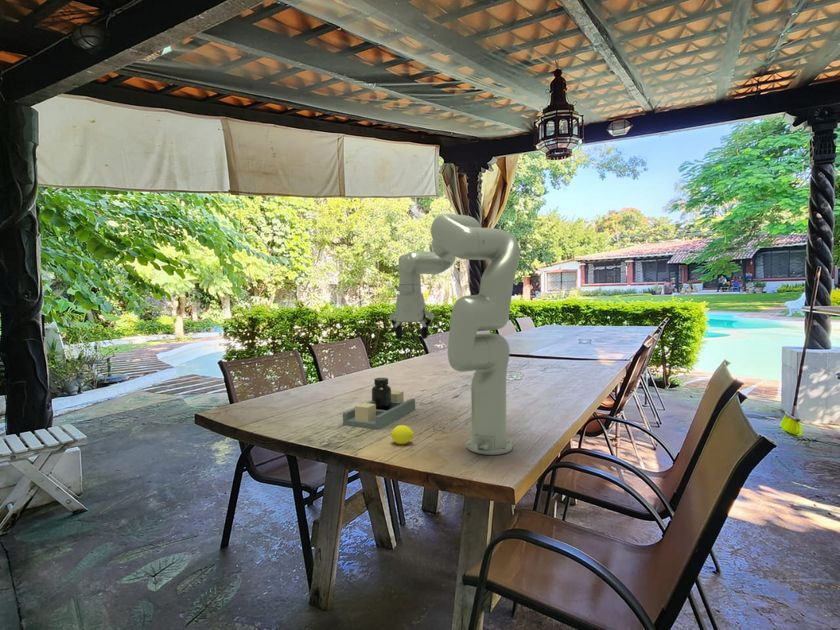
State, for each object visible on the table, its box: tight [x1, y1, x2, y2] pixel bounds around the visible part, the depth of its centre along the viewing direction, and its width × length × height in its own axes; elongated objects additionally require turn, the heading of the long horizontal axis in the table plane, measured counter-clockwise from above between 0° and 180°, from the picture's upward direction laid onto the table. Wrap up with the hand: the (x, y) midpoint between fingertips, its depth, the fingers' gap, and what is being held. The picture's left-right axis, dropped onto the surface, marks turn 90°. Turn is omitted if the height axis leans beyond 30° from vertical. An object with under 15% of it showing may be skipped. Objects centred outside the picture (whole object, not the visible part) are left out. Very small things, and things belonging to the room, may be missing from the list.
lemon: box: [390, 424, 415, 445], centre depth 128 cm, size 7×5×5 cm
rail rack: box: [342, 390, 416, 430], centre depth 156 cm, size 26×14×6 cm, turn 155°
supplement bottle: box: [371, 377, 392, 411], centre depth 156 cm, size 7×7×12 cm
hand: (411, 338), depth 157 cm, fingers open, 9 cm apart
